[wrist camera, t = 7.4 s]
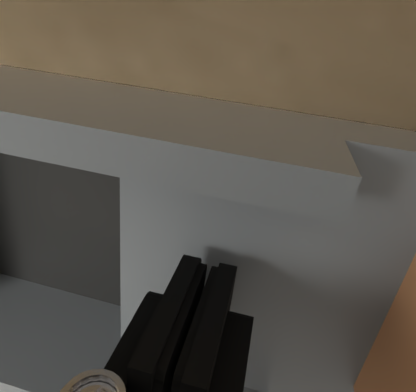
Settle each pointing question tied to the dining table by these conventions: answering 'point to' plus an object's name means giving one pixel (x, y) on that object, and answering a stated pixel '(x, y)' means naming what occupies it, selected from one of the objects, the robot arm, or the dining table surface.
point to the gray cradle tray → (194, 225)
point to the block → (394, 345)
